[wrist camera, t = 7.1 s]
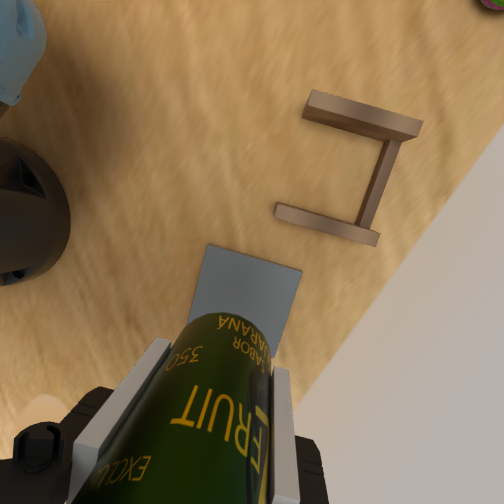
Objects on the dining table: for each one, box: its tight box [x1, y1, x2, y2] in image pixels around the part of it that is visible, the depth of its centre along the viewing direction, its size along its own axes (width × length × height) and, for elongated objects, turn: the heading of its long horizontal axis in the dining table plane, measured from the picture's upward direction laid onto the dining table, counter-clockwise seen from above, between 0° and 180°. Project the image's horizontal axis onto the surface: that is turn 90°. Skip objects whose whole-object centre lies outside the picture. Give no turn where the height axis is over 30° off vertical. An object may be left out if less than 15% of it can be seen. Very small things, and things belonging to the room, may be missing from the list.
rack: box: [273, 89, 423, 247], centre depth 27 cm, size 9×10×4 cm
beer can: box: [71, 312, 271, 504], centre depth 12 cm, size 5×5×12 cm
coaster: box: [187, 244, 303, 358], centre depth 32 cm, size 10×10×1 cm
